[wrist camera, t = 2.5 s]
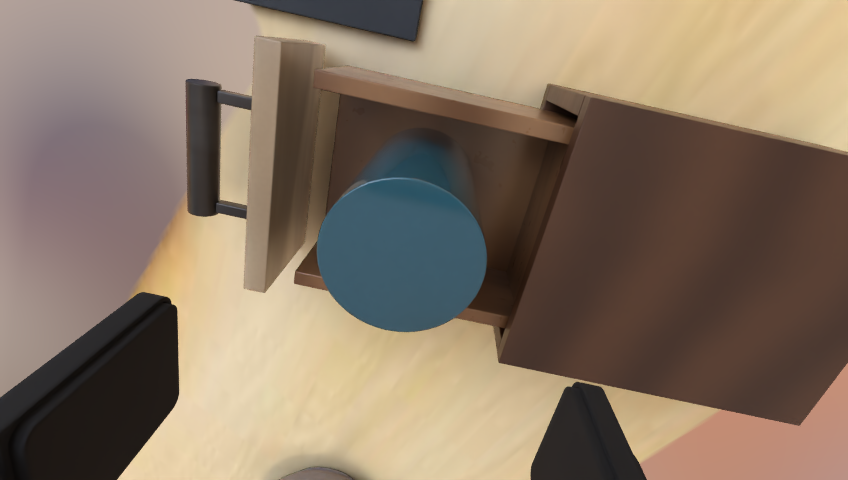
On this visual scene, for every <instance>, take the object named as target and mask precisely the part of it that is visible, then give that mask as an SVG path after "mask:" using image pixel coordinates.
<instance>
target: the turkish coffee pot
mask: <svg viewBox="0 0 848 480" xmlns="http://www.w3.org/2000/svg"><path fill="white" fill-rule="evenodd" d="M279 480H354V479H353V478H351V477H350V476H348V475H346V474H344V473H342V472H341V471H337V470H334V469H330V468H322V467H315V468H307V469H304V470H301V471H298V472H296V473H293V474H290V475H287V476H285V477H282V478H281V479H279Z"/></svg>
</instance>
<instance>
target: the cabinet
mask: <svg viewBox="0 0 848 480" xmlns="http://www.w3.org/2000/svg"><path fill="white" fill-rule="evenodd" d="M540 109H543V110H547V111H552V112H556V113H560V114H565V115H568V116H570V117H572V118H574V119H575V120H577V122H576V124H575V127H574V130H573V133H572V136H571V139H570V142H569V145H568V148H567V151H566V154H565V156H564V159H563V162H562V165H561V168H560V171H559V174H558V177H557V180H556V183H555V186H554V188H553V191H552V194H551V197H550V200H549V203H548V206H547V209H546V212H545V215H544V218H543V220H542V223H541V226H540V229H539V232H538V235H537V238H536V241H535V244H534V247H533V250H532V252H531V255H530V258H529V261H528V264H527V267H526V270H525V273H524V276H523V279H522V282H521V284H520V287H519V290H518V293H517V296H516V299H515V302H514V305H513V308H512V311H511V314H510V316H509V319H508V322H507V325H506V328H501V327H496V326H493V327H494V333H495V340H496V347H497V354H498V361H499V363H503V364H507V365H512V366H517V367H522V368H526V369H531V370H536V371H541V372H546V373H550V374H555V375H560V376H565V377H569V378H574V379H579V380H584V381H589V382H593V383H598V384H603V385H608V386H612V387H617V388H622V389H627V390H631V391H636V392H641V393H646V394H651V395H655V396H660V397H665V398H670V399H674V400H679V401H684V402H689V403H693V404H698V405H703V406H708V407H713V408H717V409H722V410H727V411H732V412H736V413H742V414H746V415H751V416H755V417H761V418H765V419H770V420H775V421H779V422H784V423H789V424H794V425H798V426H799V425H800V424H801V423H802V422H803V420H804V419H805V418H806V417H807V415H808V414H809V413H810V411H811V410H812V409H813V407H814V406H815V405H816V403H817V402H818V401H819V400H820V398H821V397H822V396H823V394H824V393H825V392H826V390H827V389H828V388H829V386H830V385H831V384H832V383H833V381H834V380H835V379H836V377H837V376H838V375H839V373H840V372H841V371H842V369H843V368H844V367H845V366H846V364H847V363H848V152H845V151H841V150H837V149H833V148H829V147H825V146H821V145H817V144H813V143H808V142H804V141H800V140H795V139H791V138H786V137H782V136H778V135H773V134H769V133H764V132H760V131H756V130H751V129H747V128H742V127H738V126H734V125H729V124H725V123H720V122H716V121H712V120H707V119H703V118H698V117H694V116H690V115H685V114H681V113H676V112H672V111H668V110H663V109H659V108H654V107H650V106H646V105H641V104H637V103H632V102H628V101H624V100H619V99H615V98H610V97H606V96H602V95H597V94H593V93H588V92H584V91H580V90H575V89H571V88H567V87H562V86H558V85H553V84H548V85H547V88H546V91H545V95H544V98H543V101H542V104H541V108H540Z"/></svg>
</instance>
